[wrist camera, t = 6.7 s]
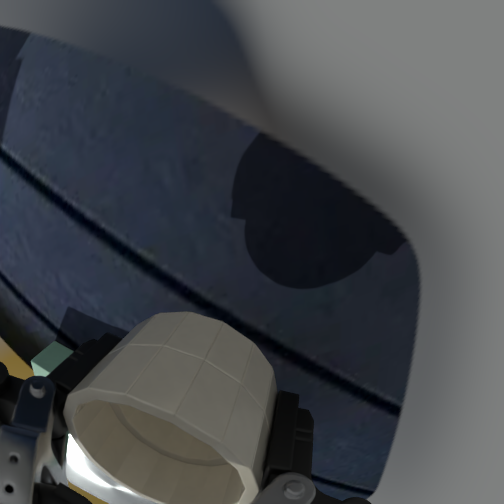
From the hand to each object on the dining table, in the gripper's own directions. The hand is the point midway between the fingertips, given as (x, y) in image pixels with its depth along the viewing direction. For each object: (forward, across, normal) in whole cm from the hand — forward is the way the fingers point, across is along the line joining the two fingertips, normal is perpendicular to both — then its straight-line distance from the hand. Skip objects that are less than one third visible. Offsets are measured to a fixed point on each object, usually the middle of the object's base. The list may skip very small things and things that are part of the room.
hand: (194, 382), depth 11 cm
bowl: (+1, 0, 0) cm, 1 cm away
